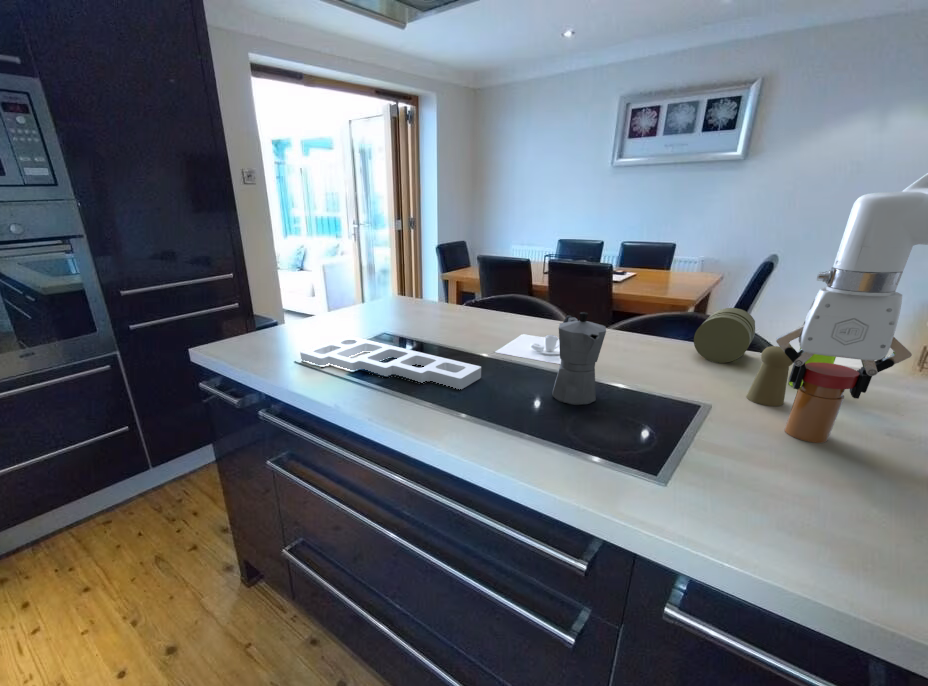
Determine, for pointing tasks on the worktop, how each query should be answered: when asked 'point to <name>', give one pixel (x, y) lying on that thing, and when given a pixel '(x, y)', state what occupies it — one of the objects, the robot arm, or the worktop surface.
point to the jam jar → (814, 412)
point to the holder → (393, 362)
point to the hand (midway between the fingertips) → (824, 389)
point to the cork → (771, 378)
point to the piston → (725, 335)
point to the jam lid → (830, 375)
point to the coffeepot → (578, 360)
